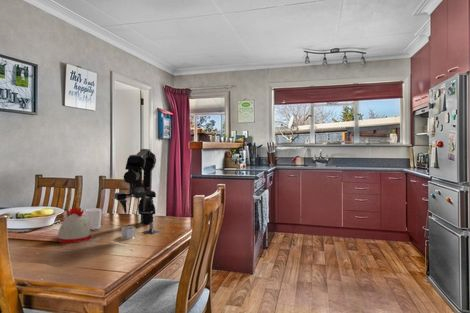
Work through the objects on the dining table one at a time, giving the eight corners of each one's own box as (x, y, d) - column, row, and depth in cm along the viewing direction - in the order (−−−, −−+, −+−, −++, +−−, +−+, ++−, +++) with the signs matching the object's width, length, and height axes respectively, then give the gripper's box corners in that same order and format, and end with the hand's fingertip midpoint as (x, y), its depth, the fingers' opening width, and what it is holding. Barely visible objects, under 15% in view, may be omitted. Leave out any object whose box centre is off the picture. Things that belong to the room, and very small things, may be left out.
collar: (120, 236, 145) (120, 227, 145) (133, 234, 148) (133, 225, 148) (122, 239, 140) (122, 230, 140) (136, 237, 143) (136, 228, 143)
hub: (117, 239, 143) (117, 229, 143) (128, 236, 149) (128, 226, 149) (128, 242, 140) (128, 231, 140) (139, 238, 146) (139, 228, 146)
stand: (140, 234, 153) (141, 223, 153) (150, 231, 159) (150, 221, 159) (151, 236, 150) (151, 225, 150) (160, 233, 156) (161, 222, 156)
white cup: (97, 230, 158) (97, 211, 158) (82, 229, 158) (82, 210, 158) (103, 226, 166) (104, 208, 165) (89, 226, 166) (90, 208, 166)
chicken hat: (76, 244, 135) (77, 210, 134) (50, 241, 137) (51, 208, 137) (96, 235, 148) (97, 205, 148) (72, 233, 151) (73, 203, 151)
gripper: (121, 183, 135) (120, 218, 136) (160, 182, 146) (159, 213, 147) (114, 181, 144) (113, 213, 145) (151, 179, 155) (151, 209, 156)
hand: (135, 212), depth 148 cm, fingers open, 9 cm apart
